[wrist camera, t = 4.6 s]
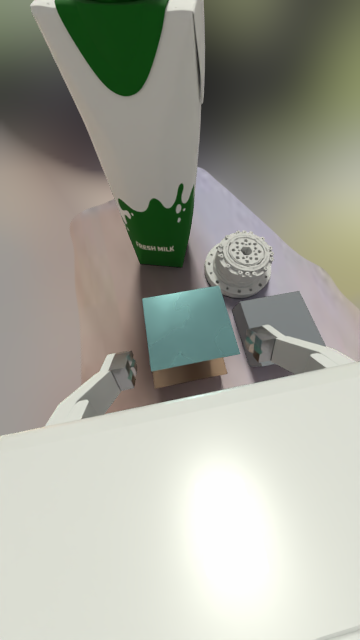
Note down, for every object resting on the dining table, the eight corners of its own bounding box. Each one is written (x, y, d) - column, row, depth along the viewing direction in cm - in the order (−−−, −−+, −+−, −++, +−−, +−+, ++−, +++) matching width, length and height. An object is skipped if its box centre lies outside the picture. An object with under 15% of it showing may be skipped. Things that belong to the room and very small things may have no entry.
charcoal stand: (249, 366, 19) (262, 366, 16) (231, 310, 21) (239, 301, 18) (307, 354, 19) (329, 352, 17) (283, 300, 22) (299, 290, 19)
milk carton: (133, 268, 24) (-70, -154, 4) (143, 225, 26) (45, -150, 7) (187, 273, 23) (222, -155, 4) (192, 229, 26) (226, -151, 7)
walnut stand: (158, 385, 18) (154, 388, 15) (150, 324, 21) (145, 318, 18) (220, 372, 19) (227, 373, 16) (205, 314, 21) (209, 306, 18)
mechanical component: (203, 296, 22) (268, 301, 22) (208, 280, 18) (289, 286, 18) (204, 244, 25) (262, 248, 25) (209, 220, 21) (279, 224, 21)
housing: (166, 368, 16) (151, 371, 8) (160, 330, 17) (142, 298, 9) (209, 359, 16) (240, 353, 8) (200, 322, 18) (219, 285, 9)
